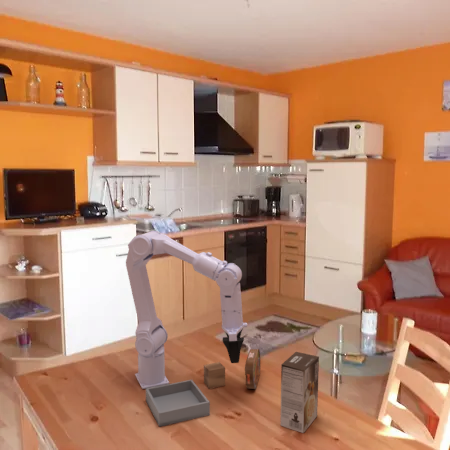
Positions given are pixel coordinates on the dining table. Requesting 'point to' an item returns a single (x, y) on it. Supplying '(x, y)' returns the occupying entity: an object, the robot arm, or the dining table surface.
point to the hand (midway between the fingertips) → (234, 356)
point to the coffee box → (299, 391)
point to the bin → (177, 402)
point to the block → (214, 375)
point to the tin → (252, 369)
